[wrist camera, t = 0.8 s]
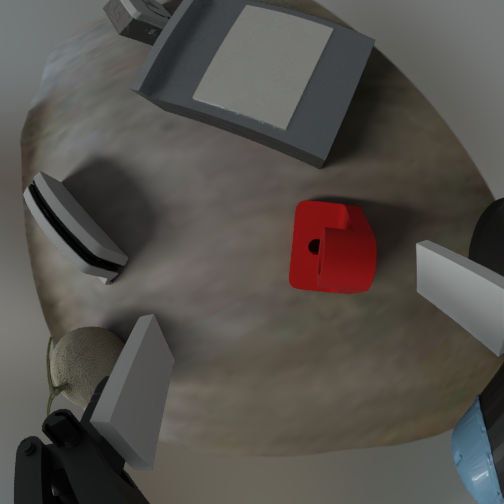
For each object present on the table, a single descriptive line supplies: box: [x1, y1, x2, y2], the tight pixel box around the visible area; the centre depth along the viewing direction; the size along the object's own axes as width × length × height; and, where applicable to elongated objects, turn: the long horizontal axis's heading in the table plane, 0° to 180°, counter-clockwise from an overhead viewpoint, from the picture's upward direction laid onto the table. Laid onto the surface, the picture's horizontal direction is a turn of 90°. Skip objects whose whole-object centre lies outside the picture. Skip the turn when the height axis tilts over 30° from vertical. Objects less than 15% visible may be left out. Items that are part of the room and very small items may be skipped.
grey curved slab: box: [24, 171, 128, 285], centre depth 30 cm, size 17×5×10 cm, turn 50°
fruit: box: [46, 327, 125, 418], centre depth 29 cm, size 10×12×15 cm
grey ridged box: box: [130, 0, 375, 169], centre depth 23 cm, size 19×14×8 cm
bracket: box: [289, 201, 377, 294], centre depth 25 cm, size 9×6×10 cm
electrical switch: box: [103, 0, 172, 46], centre depth 24 cm, size 9×5×9 cm, turn 32°
